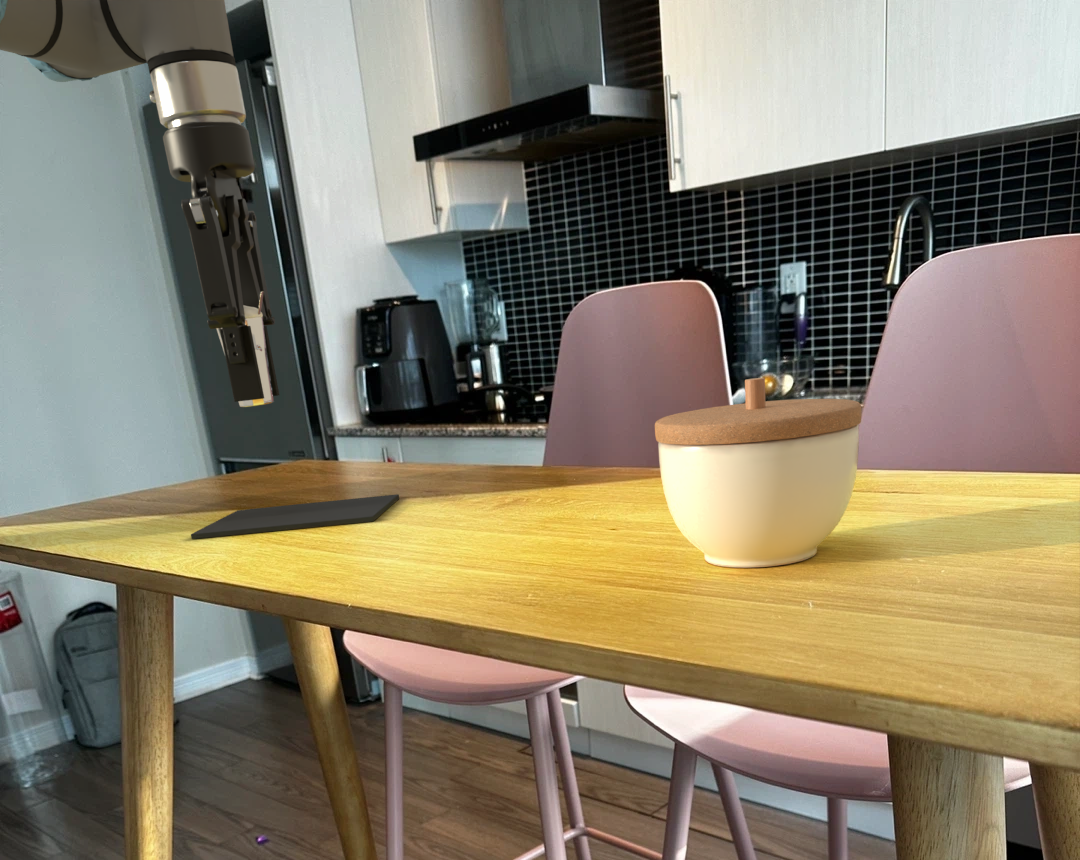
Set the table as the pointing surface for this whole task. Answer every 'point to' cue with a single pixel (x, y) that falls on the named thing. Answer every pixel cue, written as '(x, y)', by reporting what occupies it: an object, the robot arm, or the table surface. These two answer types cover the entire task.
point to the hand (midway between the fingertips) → (257, 397)
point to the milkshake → (257, 352)
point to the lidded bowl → (759, 475)
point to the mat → (298, 516)
